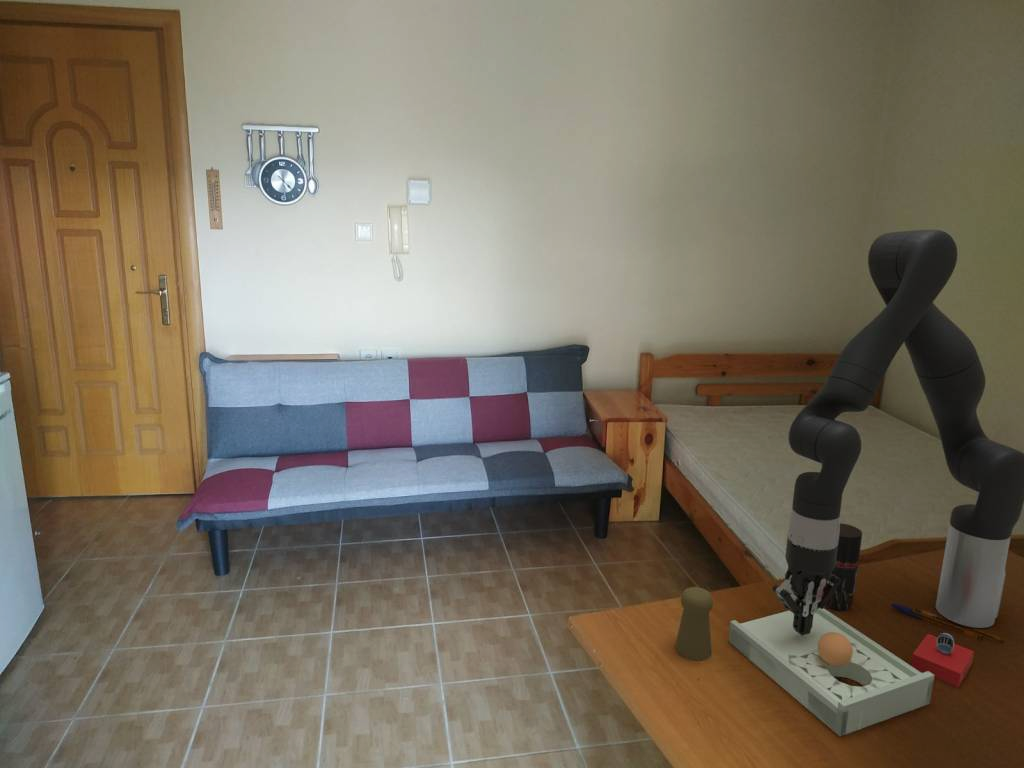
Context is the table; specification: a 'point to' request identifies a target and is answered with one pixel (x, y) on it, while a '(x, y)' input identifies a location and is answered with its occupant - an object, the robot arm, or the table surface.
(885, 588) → the table surface
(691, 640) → the olive pepper shaker
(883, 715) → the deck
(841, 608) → the deodorant
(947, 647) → the red slab
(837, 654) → the ball
